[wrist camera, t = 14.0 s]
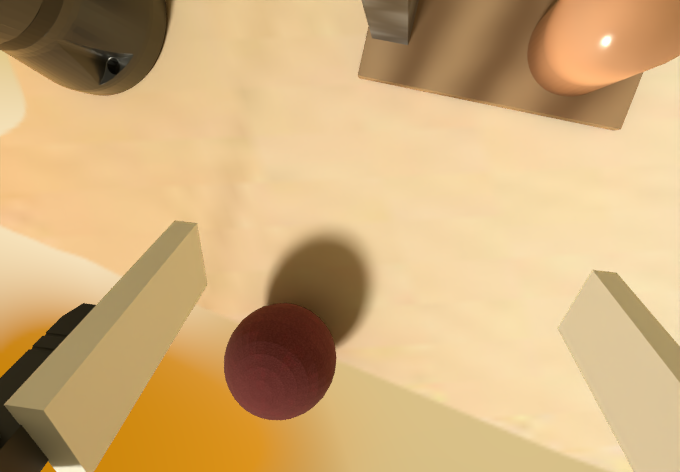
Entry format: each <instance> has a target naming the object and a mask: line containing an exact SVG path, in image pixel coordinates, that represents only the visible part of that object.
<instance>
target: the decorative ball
mask: <svg viewBox="0 0 680 472" xmlns="http://www.w3.org/2000/svg"><path fill="white" fill-rule="evenodd" d="M335 366H336V351H335V345H334V342H333V339H332V336H331V333H330V332H329V330H328V328H327V326H326V325H325V324H324V323H323V321H322V320H321V319H320V318H319V317H318V316H316V315H315V314H314V313H313V312H311V311H309V310H307V309H306V308H304V307H301V306H298V305H295V304H288V303H277V304H272V305H268V306H264V307H262V308H260V309H258V310H256V311H254V312H253V313H251V314H250V315H248V316H247V317H246V318H245V319H243V320H242V322H241V323H240V324H239V325H238V327H237V328H236V329H235V330H234V332H233V334H232V335H231V338H230V340H229V342H228V345H227V348H226V352H225V356H224V373H225V378H226V382H227V384H228V387H229V390H230V391H231V393H232V395H233V396H234V398H235V400H236V401H237V402H238V403H239V404H240V405H241V406H242V407H243V408H244V409H245V410H246V411H248V412H250V413H251V414H253V415H255V416H258V417H260V418H264V419H269V420H286V419H291V418H294V417H296V416H299V415H301V414H304V413H305V412H307V411H308V410H310V409H311V408H312V407H314V406H315V405H316V404H317V403H318V402H319V400H321V399H322V398H323V396H324V395H325V393H326V391H327V390H328V388H329V386H330V384H331V382H332V379H333V376H334V373H335Z"/></svg>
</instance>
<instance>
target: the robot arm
mask: <svg viewBox="0 0 680 472" xmlns="http://www.w3.org/2000/svg"><path fill="white" fill-rule="evenodd" d="M165 30H166V2H165V0H0V50H2V51H4V52H5V53H7V54H9V55H10V56H12V57H14V58H15V59H17V60H18V61H20V62H22V63H23V64H25V65H27V66H28V67H30V68H32V69H33V70H35V71H37V72H38V73H40V74H41V75H43V76H45V77H46V78H48V79H50V80H51V81H53V82H55V83H57V84H59V85H61V86H63V87H66V88H69V89H72V90H75V91H79V92H84V93H88V94H93V95H114V94H118V93H121V92H124V91H126V90H128V89H130V88H132V87H133V86H135V85H136V84H137V83H139V82H140V81H141V80H142V79H143V78H144V77H145V76H146V75H147V73H148V72H149V71H150V70H151V68H152V67H153V65H154V63H155V62H156V60H157V58H158V55H159V53H160V50H161V47H162V44H163V40H164V36H165ZM206 286H207V279H206V273H205V267H204V261H203V255H202V250H201V244H200V238H199V232H198V226H197V223H191V222H182V221H174V222H173V223H172V224H171V225H170V226H169V227H168V229H167V230H166V231H165V232H164V233H163V234H162V235H161V236H160V237H159V238H158V239H157V240H156V241H155V243H154V244H153V245H152V246H151V247H150V248H149V249H148V250H147V251H146V252H145V253H144V254H143V255H142V257H141V258H140V259H139V260H138V261H137V262H136V263H135V264H134V265H133V266H132V267H131V268H130V269H129V271H128V272H127V273H126V274H125V275H124V276H123V277H122V278H121V279H120V280H119V281H118V282H117V283H116V284H115V286H114V287H113V288H112V289H111V290H110V291H109V292H108V293H107V294H106V295H105V296H104V297H103V299H102V300H101V301H100V302H99V303H98V304H97V305H92V304H85V303H83V304H82V305H80V306H78V307H77V308H75V309H74V310H72V311H70V312H69V313H67V314H65V315H64V316H62V317H61V318H60V319H59V320H58V321H57V322H56V323H55V324H54V325H53V326H52V327H51V328H50V329H49V330H48V331H47V332H46V335H45V336H42V337H41V338H40V339H39V340H38V341H37V342H36V343H35V344H34V345H33V347H32V349H31V350H28V351H27V352H26V353H25V354H24V355H23V356H22V357H21V358H20V359H19V360H18V361H17V362H16V363H15V364H14V365H13V366H12V367H11V368H10V369H9V370H8V371H7V372H6V373H5V374H4V375H3V376H2V377H1V378H0V472H40V471H41V470H42V469H43V467H44V466H45V464H46V463H47V462H48V461H49V463H50V464H51V465H52V466H53V468H54V469H55V470H56V472H94V470H95V469H96V467H97V465H98V464H99V462H100V460H101V459H102V457H103V455H104V454H105V452H106V451H107V449H108V447H109V446H110V444H111V442H112V441H113V439H114V437H115V436H116V434H117V432H118V431H119V429H120V427H121V426H122V424H123V423H124V421H125V419H126V418H127V416H128V414H129V412H130V411H131V410H132V408H133V406H134V404H135V403H136V401H137V400H138V398H139V396H140V395H141V393H142V391H143V389H144V388H145V386H146V385H147V383H148V381H149V380H150V378H151V377H152V375H153V373H154V372H155V370H156V368H157V367H158V365H159V363H160V362H161V360H162V358H163V357H164V355H165V354H166V352H167V350H168V349H169V347H170V345H171V344H172V342H173V340H174V339H175V337H176V335H177V334H178V332H179V331H180V329H181V327H182V326H183V324H184V322H185V321H186V319H187V317H188V316H189V314H190V312H191V310H192V309H193V307H194V306H195V304H196V303H197V301H198V299H199V298H200V296H201V294H202V293H203V291H204V289H205V288H206ZM558 330H559V332H560V334H561V336H562V338H563V340H564V342H565V343H566V345H567V347H568V349H569V351H570V353H571V355H572V357H573V359H574V360H575V362H576V364H577V366H578V368H579V370H580V372H581V374H582V375H583V377H584V379H585V381H586V383H587V385H588V387H589V389H590V390H591V392H592V394H593V396H594V398H595V400H596V402H597V404H598V405H599V407H600V409H601V411H602V413H603V415H604V417H605V419H606V421H607V422H608V424H609V426H610V428H611V430H612V432H613V434H614V436H615V437H616V439H617V441H618V443H619V445H620V447H621V449H622V451H623V452H624V454H625V456H626V458H627V460H628V462H629V464H630V466H631V467H632V469H633V471H634V472H680V346H679V345H678V344H677V343H676V342H675V341H674V339H673V338H672V337H671V336H670V335H669V334H668V332H667V331H666V330H665V329H664V328H663V327H662V325H661V324H660V323H659V322H658V321H657V319H656V318H655V317H654V316H653V315H652V314H651V312H650V311H649V310H648V309H647V308H646V307H645V305H644V304H643V303H642V302H641V301H640V300H639V298H638V297H637V296H636V295H635V294H634V293H633V291H632V290H631V289H630V288H629V287H628V286H627V284H626V283H625V282H624V281H623V280H622V279H621V277H620V276H619V275H618V274H617V273H613V272H605V271H596V270H592V272H591V273H590V275H589V277H588V278H587V280H586V282H585V283H584V285H583V287H582V288H581V290H580V292H579V293H578V295H577V297H576V298H575V300H574V302H573V303H572V305H571V307H570V308H569V310H568V311H567V313H566V315H565V316H564V318H563V320H562V321H561V323H560V325H559V326H558Z"/></svg>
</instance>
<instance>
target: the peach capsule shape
mask: <svg viewBox="0 0 680 472" xmlns="http://www.w3.org/2000/svg"><path fill="white" fill-rule="evenodd" d="M679 55H680V0H558V1H557V2H556V3H555V4H554V5H553V6H552V7H551V8H550V10H549V11H548V12H547V13H546V14H545V15H544V16H543V17H542V18H541V20H540V21H539V22H538V24H537V25H536V27H535V29H534V30H533V32H532V35H531V37H530V40H529V44H528V51H527V59H528V65H529V69H530V71H531V74H532V76H533V77H534V79H535V80H536V82H537V83H538V84H539V85H540V86H541V87H543V88H544V89H545V90H547V91H549V92H551V93H553V94H556V95H560V96H567V97H573V96H580V95H584V94H588V93H590V92H593V91H596V90H598V89H601V88H603V87H606V86H608V85H611V84H613V83H616V82H618V81H621V80H624V79H626V78H629V77H631V76H634V75H636V74H639V73H641V72H644V71H646V70H649V69H652V68H654V67H657V66H659V65H662V64H664V63H666V62H668V61H670V60H672V59H674V58H676V57H677V56H679Z"/></svg>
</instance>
